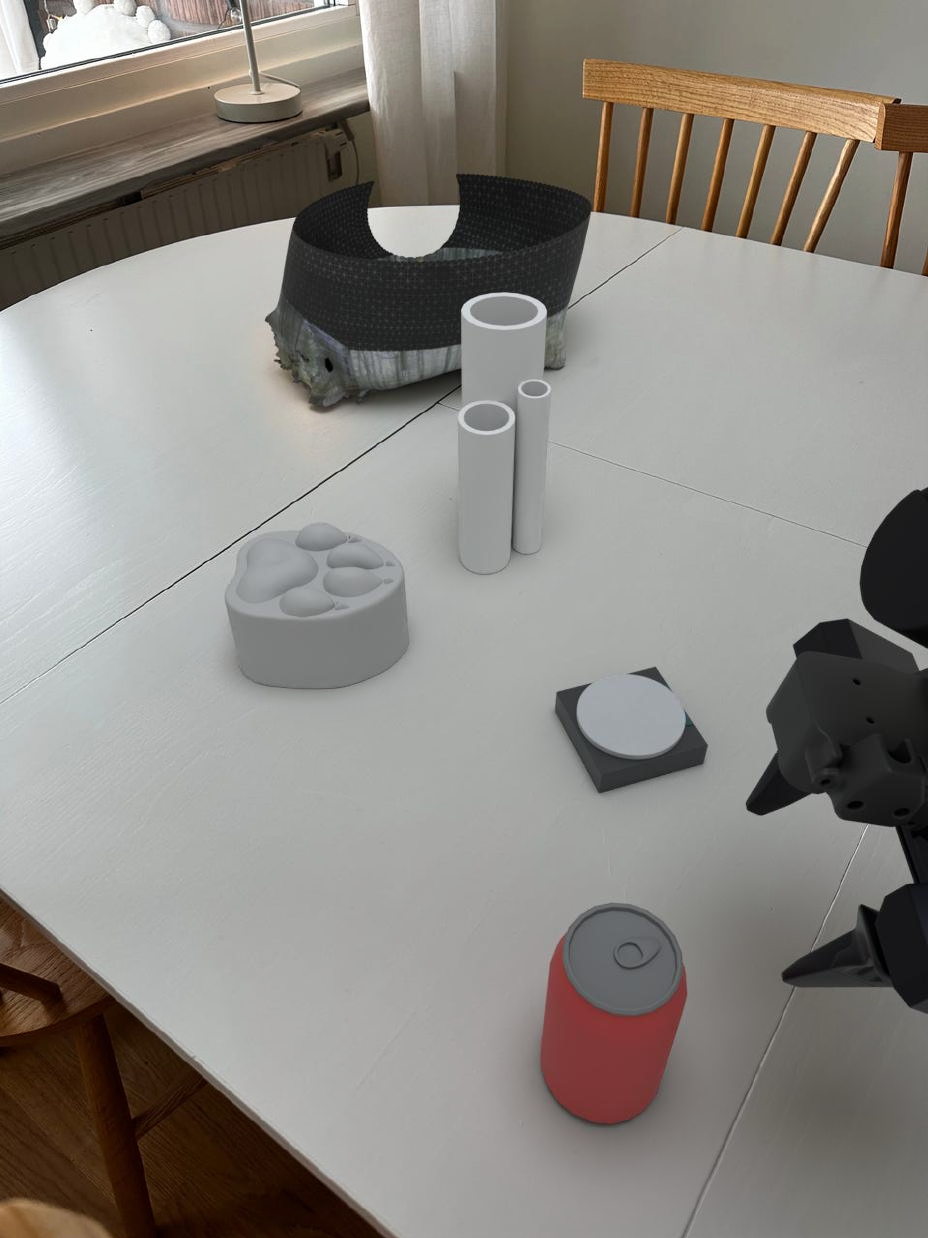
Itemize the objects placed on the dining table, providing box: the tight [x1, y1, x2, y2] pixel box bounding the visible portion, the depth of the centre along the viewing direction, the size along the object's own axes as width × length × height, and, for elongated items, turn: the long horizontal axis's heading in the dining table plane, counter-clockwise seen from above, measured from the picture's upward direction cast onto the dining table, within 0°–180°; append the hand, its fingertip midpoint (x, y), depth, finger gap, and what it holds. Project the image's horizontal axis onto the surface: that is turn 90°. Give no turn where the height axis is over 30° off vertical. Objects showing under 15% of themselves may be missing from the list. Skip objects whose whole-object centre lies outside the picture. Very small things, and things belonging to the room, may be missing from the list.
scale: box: [554, 666, 709, 794], centre depth 70 cm, size 8×8×2 cm
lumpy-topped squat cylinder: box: [224, 521, 410, 690], centre depth 75 cm, size 10×13×9 cm
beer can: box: [540, 902, 688, 1125], centre depth 49 cm, size 7×7×12 cm
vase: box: [457, 293, 552, 575], centre depth 81 cm, size 11×7×20 cm, turn 178°
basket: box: [264, 173, 593, 408], centre depth 107 cm, size 28×35×16 cm
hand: (769, 889), depth 47 cm, fingers open, 9 cm apart
